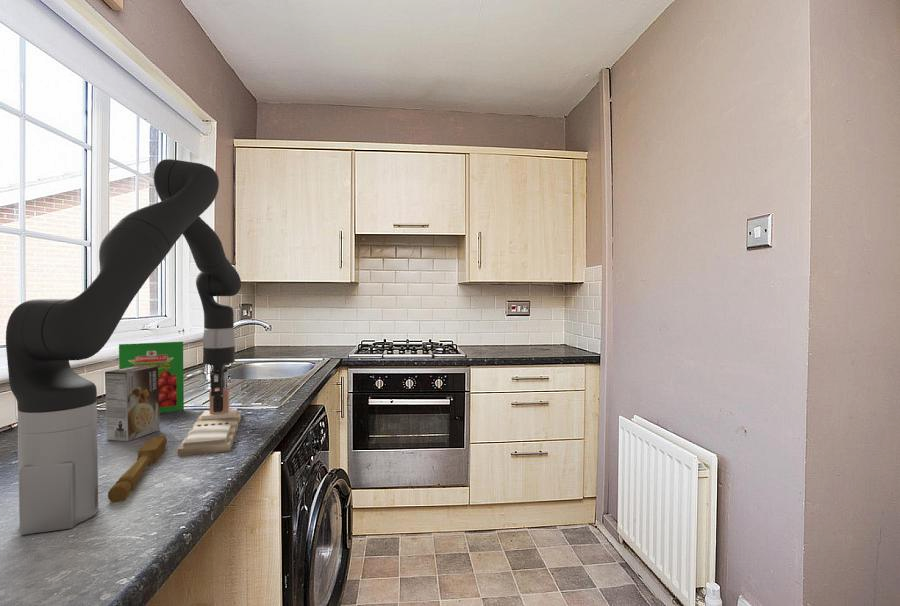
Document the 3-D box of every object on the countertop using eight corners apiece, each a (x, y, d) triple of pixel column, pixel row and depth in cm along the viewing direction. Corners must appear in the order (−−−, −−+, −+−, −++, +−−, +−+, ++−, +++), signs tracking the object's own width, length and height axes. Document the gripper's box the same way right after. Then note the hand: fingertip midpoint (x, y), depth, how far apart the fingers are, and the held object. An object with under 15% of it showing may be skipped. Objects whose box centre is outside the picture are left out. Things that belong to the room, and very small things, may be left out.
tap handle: (106, 487, 77) (153, 433, 105) (106, 505, 77) (153, 447, 105) (128, 484, 78) (168, 432, 106) (128, 502, 78) (169, 446, 106)
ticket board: (230, 450, 102) (229, 438, 102) (177, 456, 99) (177, 443, 99) (241, 416, 130) (241, 406, 130) (201, 419, 127) (200, 409, 127)
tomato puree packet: (119, 417, 129) (118, 344, 129) (120, 416, 130) (119, 344, 130) (183, 410, 137) (183, 341, 137) (183, 409, 138) (183, 341, 138)
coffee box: (138, 428, 118) (137, 365, 118) (160, 430, 117) (159, 366, 117) (105, 440, 109) (104, 371, 109) (128, 441, 108) (127, 372, 108)
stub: (235, 417, 124) (235, 390, 124) (201, 420, 121) (200, 392, 121) (237, 411, 129) (237, 386, 129) (204, 414, 127) (204, 388, 126)
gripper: (232, 347, 119) (232, 414, 120) (237, 342, 133) (237, 401, 133) (198, 348, 117) (199, 416, 117) (207, 342, 130) (208, 403, 131)
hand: (219, 408), depth 125 cm, fingers open, 5 cm apart
